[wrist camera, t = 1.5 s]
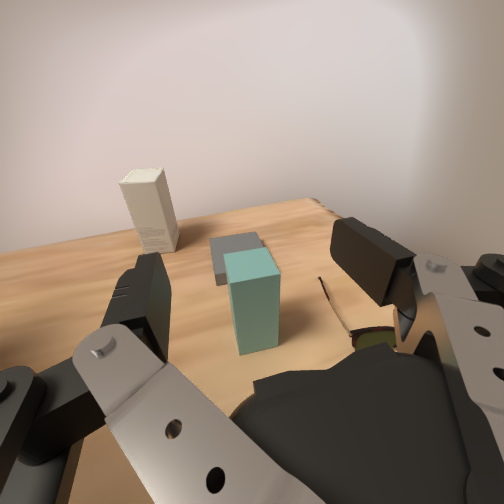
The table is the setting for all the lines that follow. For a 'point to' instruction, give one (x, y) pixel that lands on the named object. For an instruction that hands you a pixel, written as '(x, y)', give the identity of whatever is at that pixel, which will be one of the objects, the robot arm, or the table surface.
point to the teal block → (254, 298)
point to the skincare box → (151, 209)
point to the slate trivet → (230, 251)
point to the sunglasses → (368, 333)
